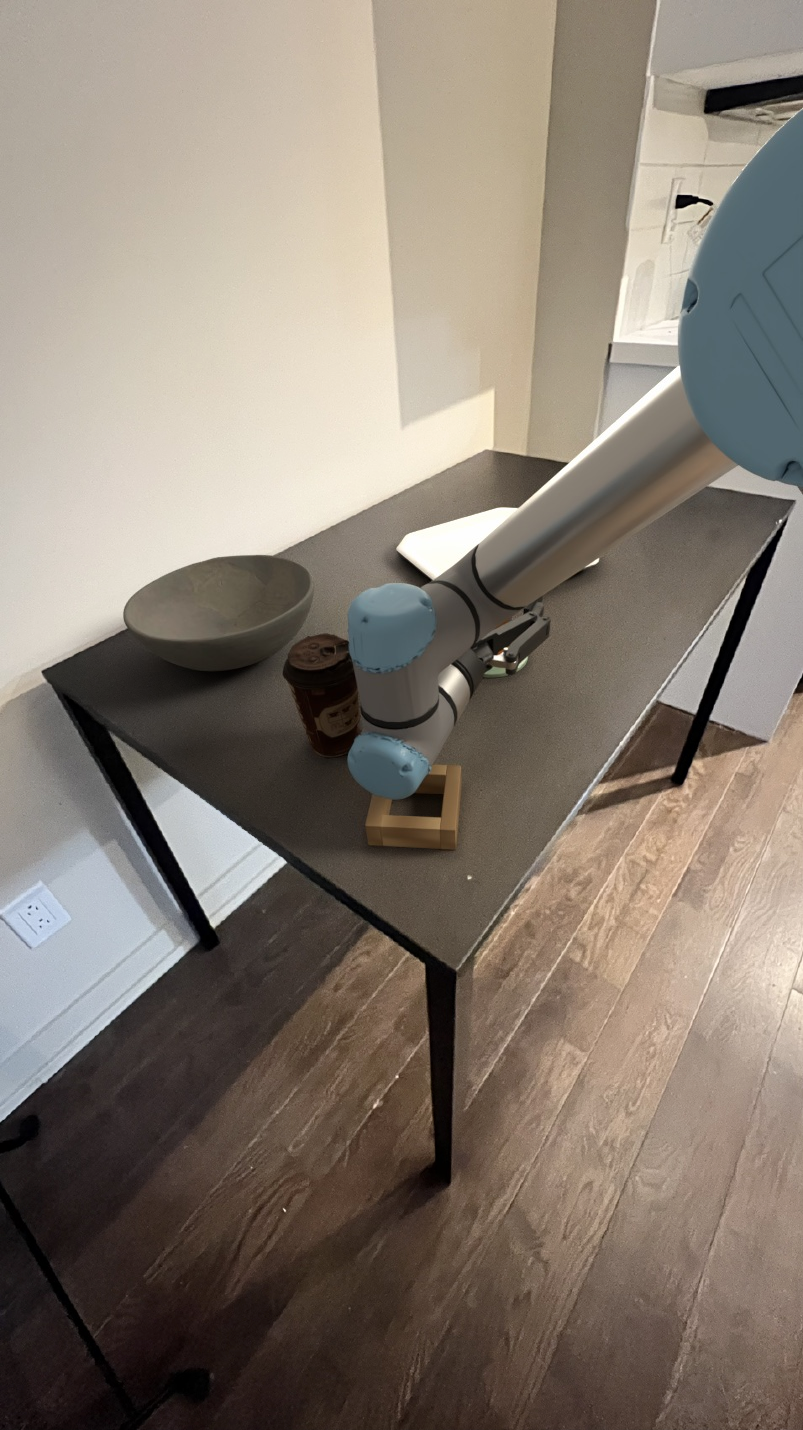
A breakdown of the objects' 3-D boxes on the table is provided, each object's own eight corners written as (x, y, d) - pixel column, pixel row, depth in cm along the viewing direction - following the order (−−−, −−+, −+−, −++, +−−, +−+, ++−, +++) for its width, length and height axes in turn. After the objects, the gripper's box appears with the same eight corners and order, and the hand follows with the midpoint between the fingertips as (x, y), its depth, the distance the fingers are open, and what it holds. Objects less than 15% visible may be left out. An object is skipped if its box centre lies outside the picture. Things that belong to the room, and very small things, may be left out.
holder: (461, 784, 68) (461, 765, 66) (456, 850, 61) (455, 830, 59) (382, 781, 69) (379, 762, 67) (368, 845, 62) (364, 825, 61)
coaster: (527, 636, 89) (527, 633, 89) (529, 678, 81) (529, 674, 81) (457, 636, 90) (457, 633, 90) (452, 677, 83) (452, 673, 83)
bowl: (110, 671, 91) (82, 611, 85) (239, 591, 107) (224, 536, 101) (234, 727, 79) (212, 662, 72) (360, 627, 95) (351, 567, 88)
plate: (618, 566, 102) (620, 554, 101) (466, 618, 94) (466, 605, 93) (517, 512, 123) (518, 501, 122) (385, 550, 115) (384, 539, 113)
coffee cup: (385, 730, 76) (373, 640, 67) (345, 774, 71) (327, 682, 62) (329, 710, 80) (311, 623, 71) (287, 750, 75) (262, 660, 66)
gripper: (355, 691, 75) (427, 601, 90) (537, 731, 67) (583, 625, 82) (346, 638, 70) (424, 553, 85) (541, 674, 62) (589, 573, 77)
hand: (502, 588), depth 84 cm, fingers open, 10 cm apart
